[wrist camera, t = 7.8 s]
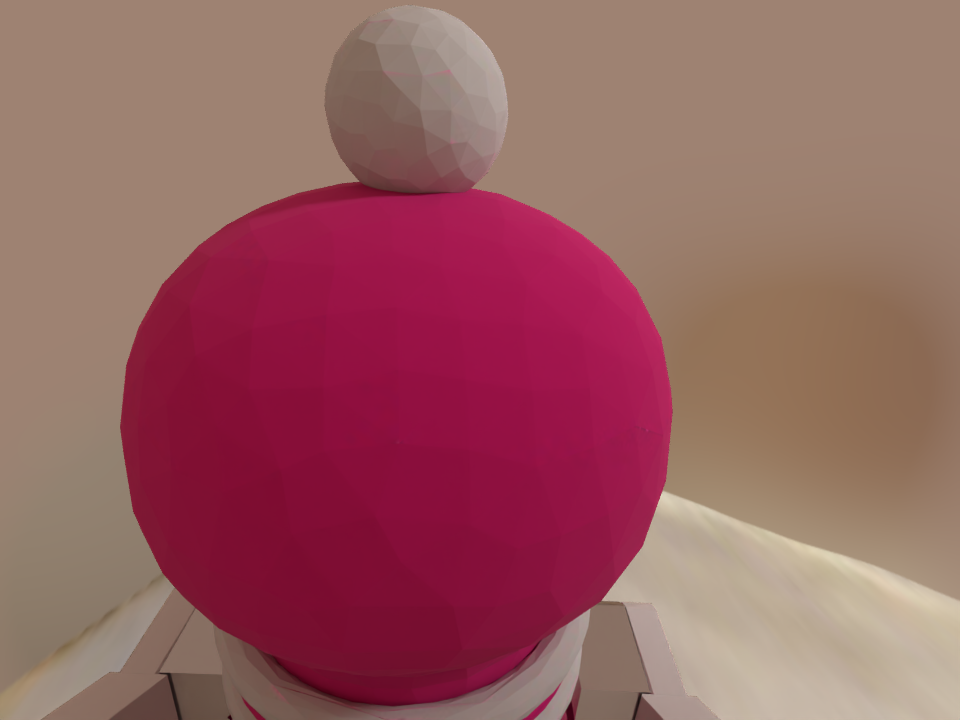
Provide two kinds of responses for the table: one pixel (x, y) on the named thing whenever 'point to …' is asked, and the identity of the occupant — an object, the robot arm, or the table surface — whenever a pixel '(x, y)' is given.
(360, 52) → the pepper mill
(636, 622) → the robot arm
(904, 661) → the table surface
